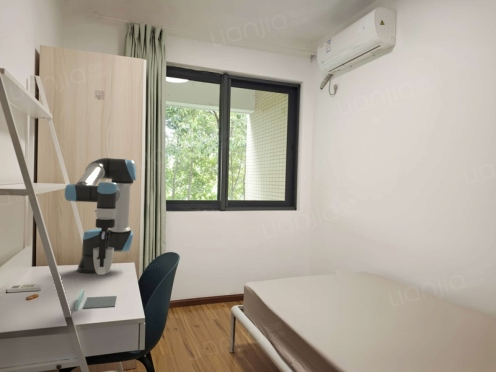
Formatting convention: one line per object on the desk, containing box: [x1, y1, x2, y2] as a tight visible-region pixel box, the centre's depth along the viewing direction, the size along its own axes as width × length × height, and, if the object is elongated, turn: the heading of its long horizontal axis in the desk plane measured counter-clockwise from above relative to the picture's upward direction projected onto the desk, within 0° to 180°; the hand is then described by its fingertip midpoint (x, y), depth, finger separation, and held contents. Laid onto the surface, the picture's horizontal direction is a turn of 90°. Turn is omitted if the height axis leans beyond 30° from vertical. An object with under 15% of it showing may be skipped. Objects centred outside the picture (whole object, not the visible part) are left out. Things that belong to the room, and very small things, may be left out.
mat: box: [82, 295, 118, 310], centre depth 136 cm, size 12×12×1 cm
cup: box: [93, 247, 115, 274], centre depth 136 cm, size 8×8×10 cm
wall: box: [74, 288, 85, 311], centre depth 133 cm, size 14×1×4 cm, turn 19°
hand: (102, 271), depth 136 cm, fingers closed on cup, 8 cm apart
